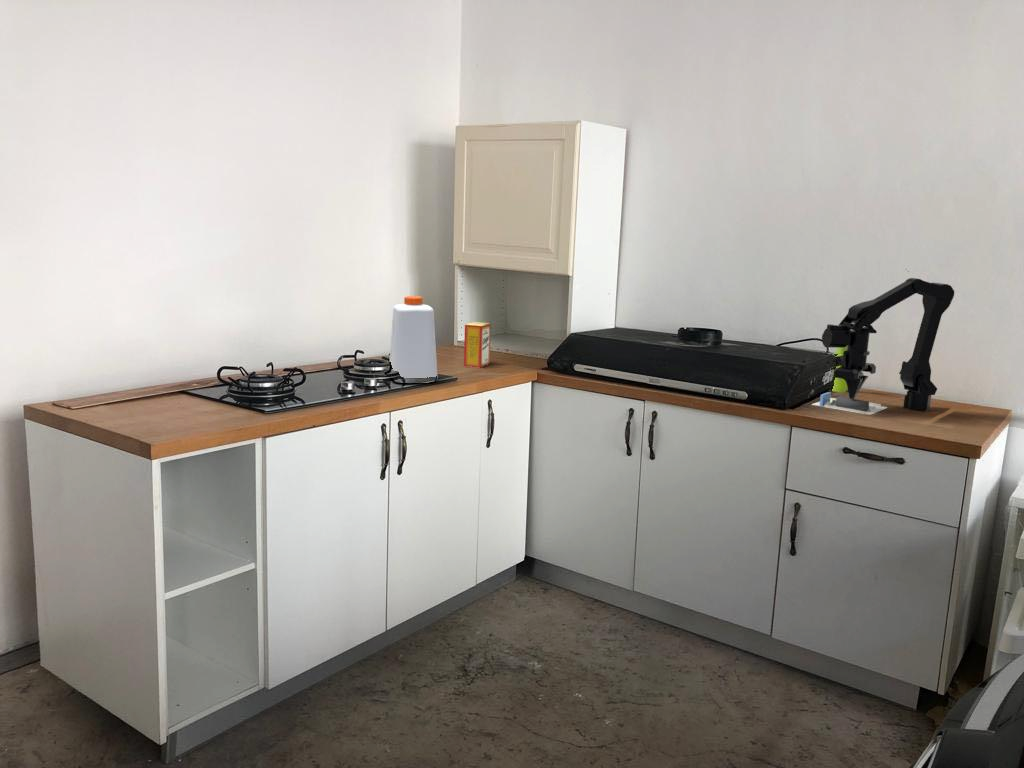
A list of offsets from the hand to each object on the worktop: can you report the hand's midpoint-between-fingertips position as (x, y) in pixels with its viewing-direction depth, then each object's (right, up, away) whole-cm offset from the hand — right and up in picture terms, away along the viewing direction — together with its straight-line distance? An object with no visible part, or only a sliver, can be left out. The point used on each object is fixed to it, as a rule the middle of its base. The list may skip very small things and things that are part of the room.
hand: (851, 398), depth 259 cm
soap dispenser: (+7, +1, +30) cm, 31 cm away
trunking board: (+1, -3, +5) cm, 7 cm away
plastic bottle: (-136, +6, +29) cm, 139 cm away
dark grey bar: (0, -3, +1) cm, 3 cm away
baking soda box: (-116, +11, +60) cm, 131 cm away
